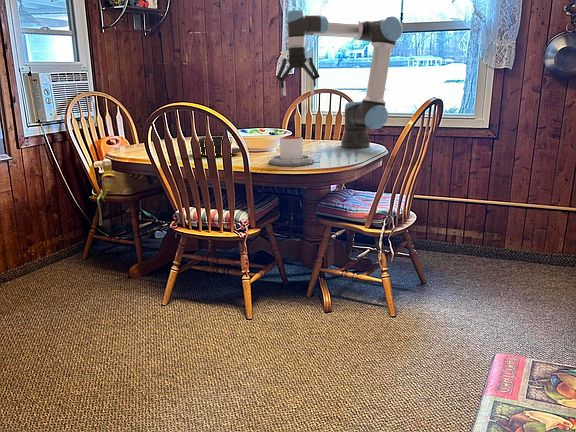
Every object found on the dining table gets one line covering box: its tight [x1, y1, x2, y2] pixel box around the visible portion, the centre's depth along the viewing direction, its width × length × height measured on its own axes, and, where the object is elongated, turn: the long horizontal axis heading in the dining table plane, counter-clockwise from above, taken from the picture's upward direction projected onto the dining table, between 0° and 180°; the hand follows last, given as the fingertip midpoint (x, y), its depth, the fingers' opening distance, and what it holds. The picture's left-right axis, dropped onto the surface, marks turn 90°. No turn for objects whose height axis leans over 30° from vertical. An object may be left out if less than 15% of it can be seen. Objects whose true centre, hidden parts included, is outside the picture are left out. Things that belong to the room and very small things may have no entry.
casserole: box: [189, 135, 241, 157], centre depth 267 cm, size 25×19×8 cm
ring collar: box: [268, 154, 315, 168], centre depth 242 cm, size 20×20×2 cm
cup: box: [279, 136, 304, 160], centre depth 241 cm, size 10×10×10 cm
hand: (298, 94), depth 254 cm, fingers open, 13 cm apart
